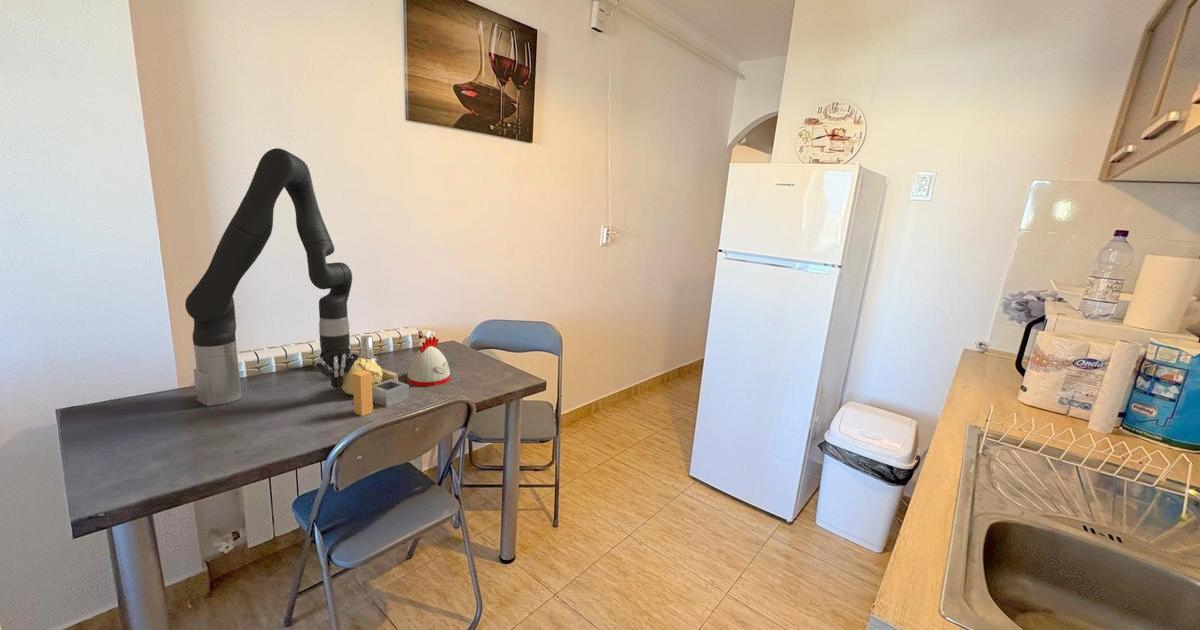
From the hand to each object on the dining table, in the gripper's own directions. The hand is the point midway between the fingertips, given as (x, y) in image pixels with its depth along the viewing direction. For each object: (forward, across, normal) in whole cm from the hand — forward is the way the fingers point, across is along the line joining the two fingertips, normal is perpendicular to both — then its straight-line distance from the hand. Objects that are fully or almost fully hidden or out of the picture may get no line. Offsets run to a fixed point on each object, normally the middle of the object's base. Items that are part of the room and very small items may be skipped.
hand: (337, 387), depth 138 cm
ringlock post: (+4, +17, +10) cm, 20 cm away
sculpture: (+4, +8, 0) cm, 9 cm away
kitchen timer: (+4, +28, -7) cm, 29 cm away
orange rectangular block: (+4, -1, -13) cm, 13 cm away
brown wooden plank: (+4, +16, 0) cm, 16 cm away
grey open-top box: (+4, +9, -11) cm, 15 cm away
